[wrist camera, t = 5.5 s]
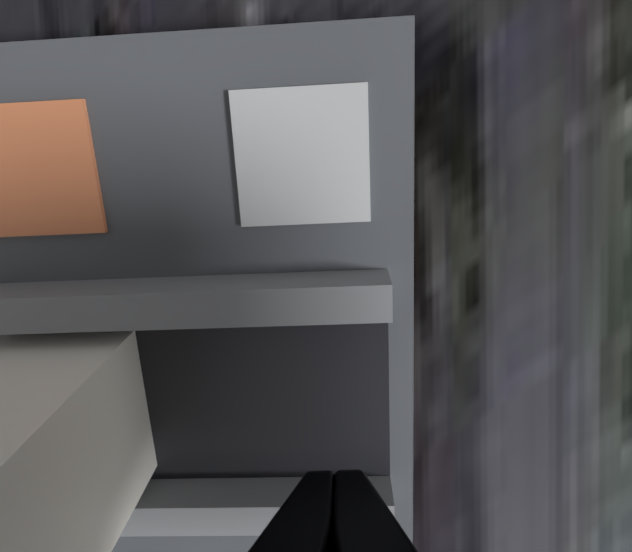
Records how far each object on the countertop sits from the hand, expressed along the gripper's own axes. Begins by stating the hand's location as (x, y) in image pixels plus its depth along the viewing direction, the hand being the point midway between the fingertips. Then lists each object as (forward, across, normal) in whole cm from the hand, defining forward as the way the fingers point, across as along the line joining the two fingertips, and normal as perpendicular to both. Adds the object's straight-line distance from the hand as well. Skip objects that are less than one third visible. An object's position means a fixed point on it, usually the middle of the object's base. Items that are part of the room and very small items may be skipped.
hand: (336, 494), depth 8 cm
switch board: (+6, +3, 0) cm, 6 cm away
